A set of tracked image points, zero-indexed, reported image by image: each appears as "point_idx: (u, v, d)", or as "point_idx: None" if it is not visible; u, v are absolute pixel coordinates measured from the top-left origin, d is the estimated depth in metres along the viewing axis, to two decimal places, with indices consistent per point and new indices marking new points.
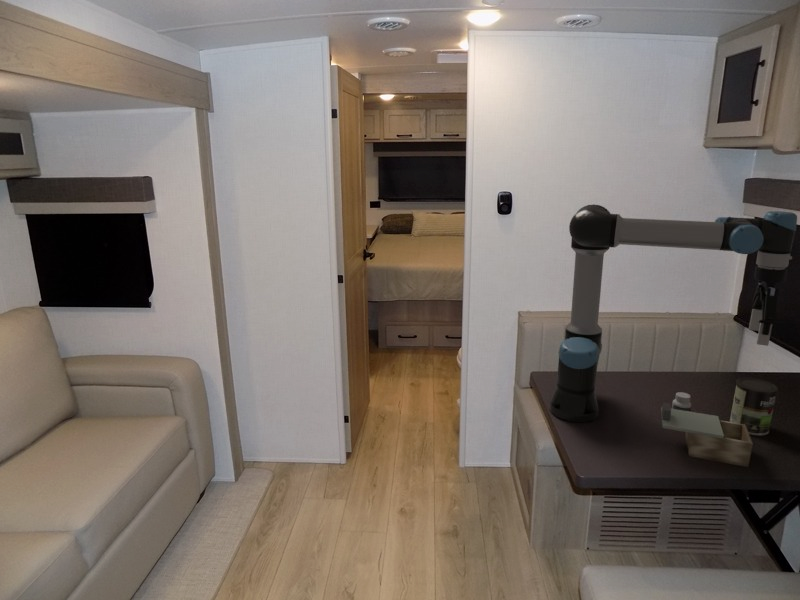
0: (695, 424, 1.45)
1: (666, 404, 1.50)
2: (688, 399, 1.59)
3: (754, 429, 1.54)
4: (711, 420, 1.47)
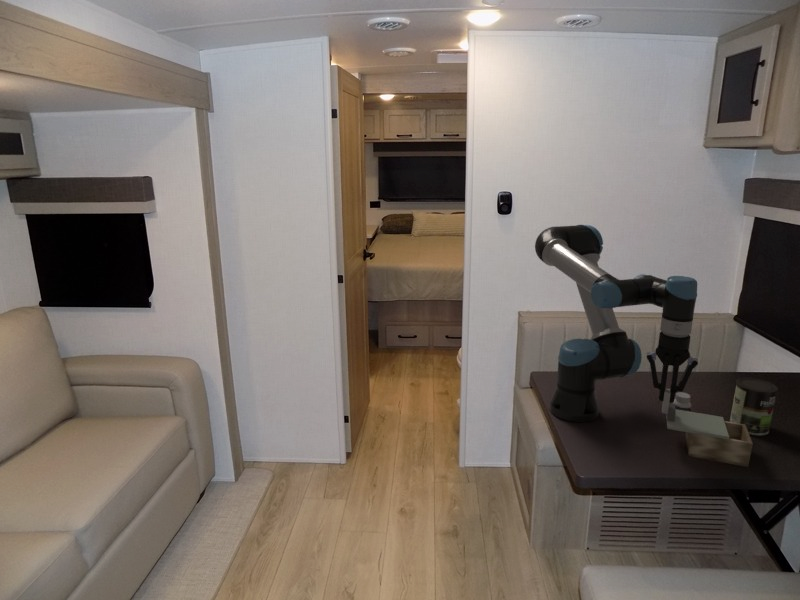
0: (699, 425, 1.44)
1: (670, 404, 1.50)
2: (688, 399, 1.59)
3: (754, 429, 1.54)
4: (716, 421, 1.46)
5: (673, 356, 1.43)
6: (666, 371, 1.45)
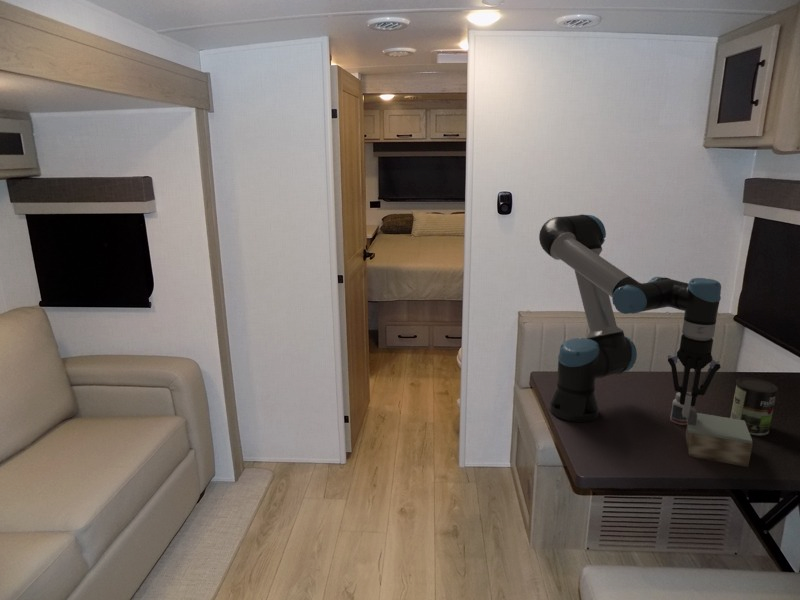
0: (721, 429, 1.42)
1: (691, 408, 1.48)
2: None
3: (754, 429, 1.54)
4: (738, 424, 1.44)
5: (695, 359, 1.41)
6: (688, 374, 1.43)
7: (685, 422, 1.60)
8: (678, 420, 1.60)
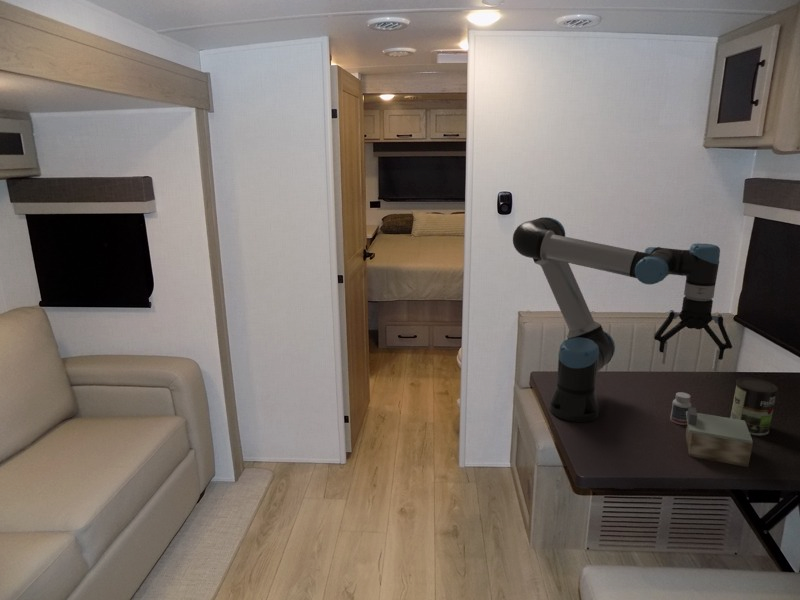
0: (722, 429, 1.42)
1: (691, 408, 1.48)
2: (688, 399, 1.59)
3: (754, 429, 1.54)
4: (738, 424, 1.44)
5: (696, 319, 1.52)
6: (678, 330, 1.55)
7: (685, 422, 1.60)
8: (678, 420, 1.60)
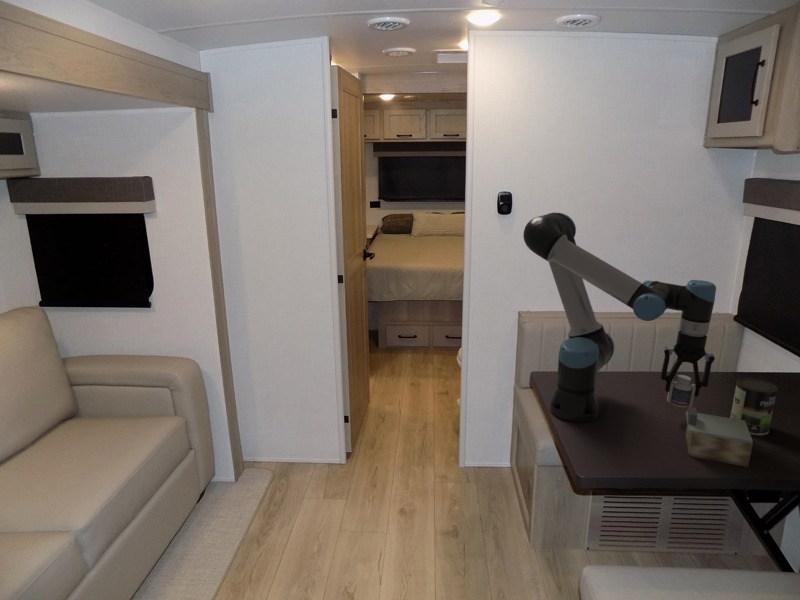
0: (722, 429, 1.42)
1: (691, 408, 1.48)
2: (689, 382, 1.57)
3: (754, 429, 1.54)
4: (738, 424, 1.44)
5: (690, 353, 1.55)
6: (678, 366, 1.58)
7: (685, 405, 1.59)
8: (678, 402, 1.59)
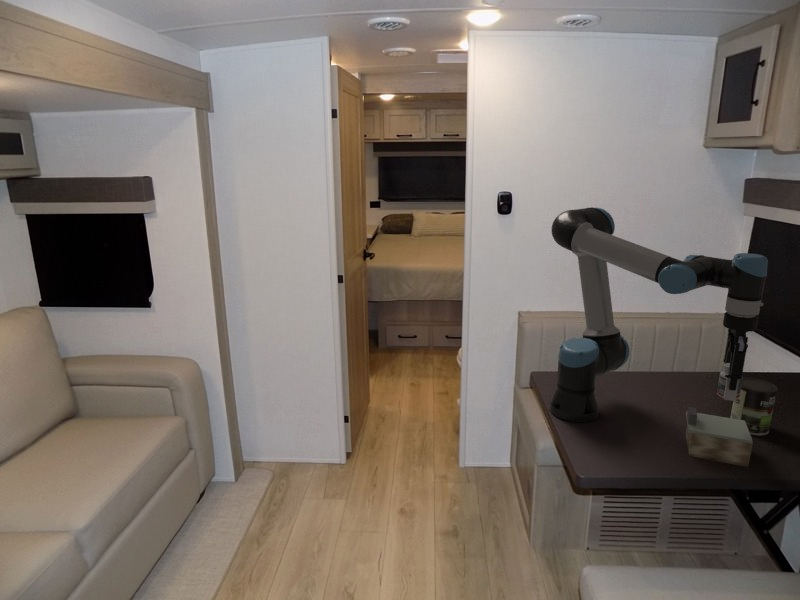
0: (722, 429, 1.42)
1: (691, 408, 1.48)
2: None
3: (754, 429, 1.54)
4: (738, 424, 1.44)
5: None
6: None
7: None
8: None
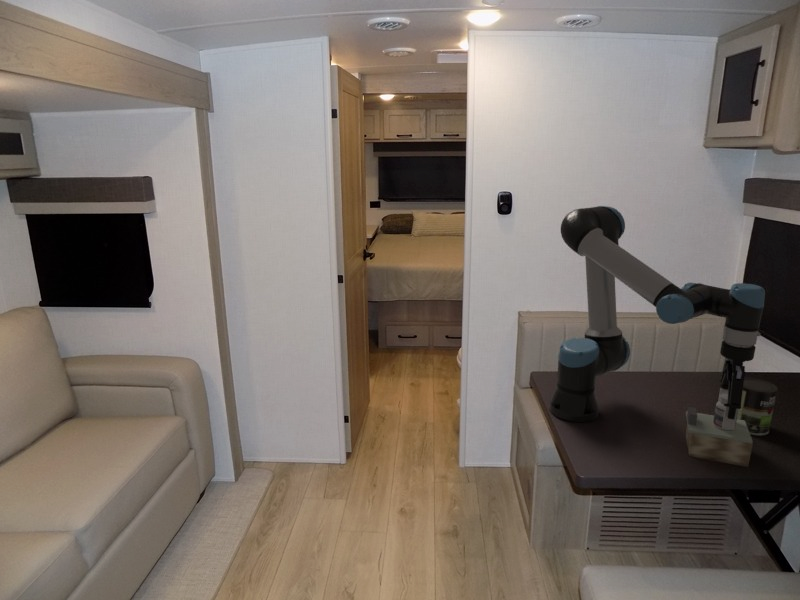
0: None
1: (691, 408, 1.48)
2: None
3: (754, 429, 1.54)
4: (738, 424, 1.44)
5: None
6: None
7: None
8: (735, 424, 1.42)
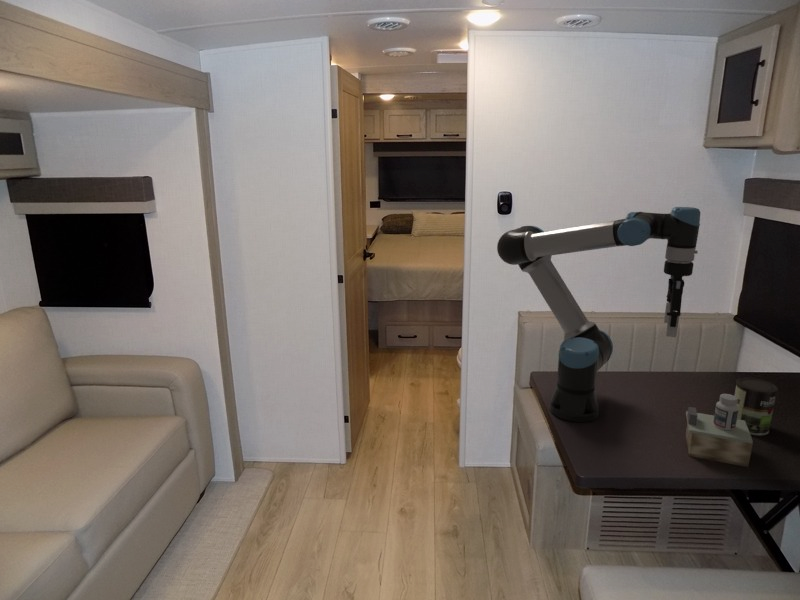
0: None
1: (691, 408, 1.48)
2: None
3: (754, 429, 1.54)
4: (738, 425, 1.44)
5: None
6: None
7: None
8: (735, 424, 1.42)
